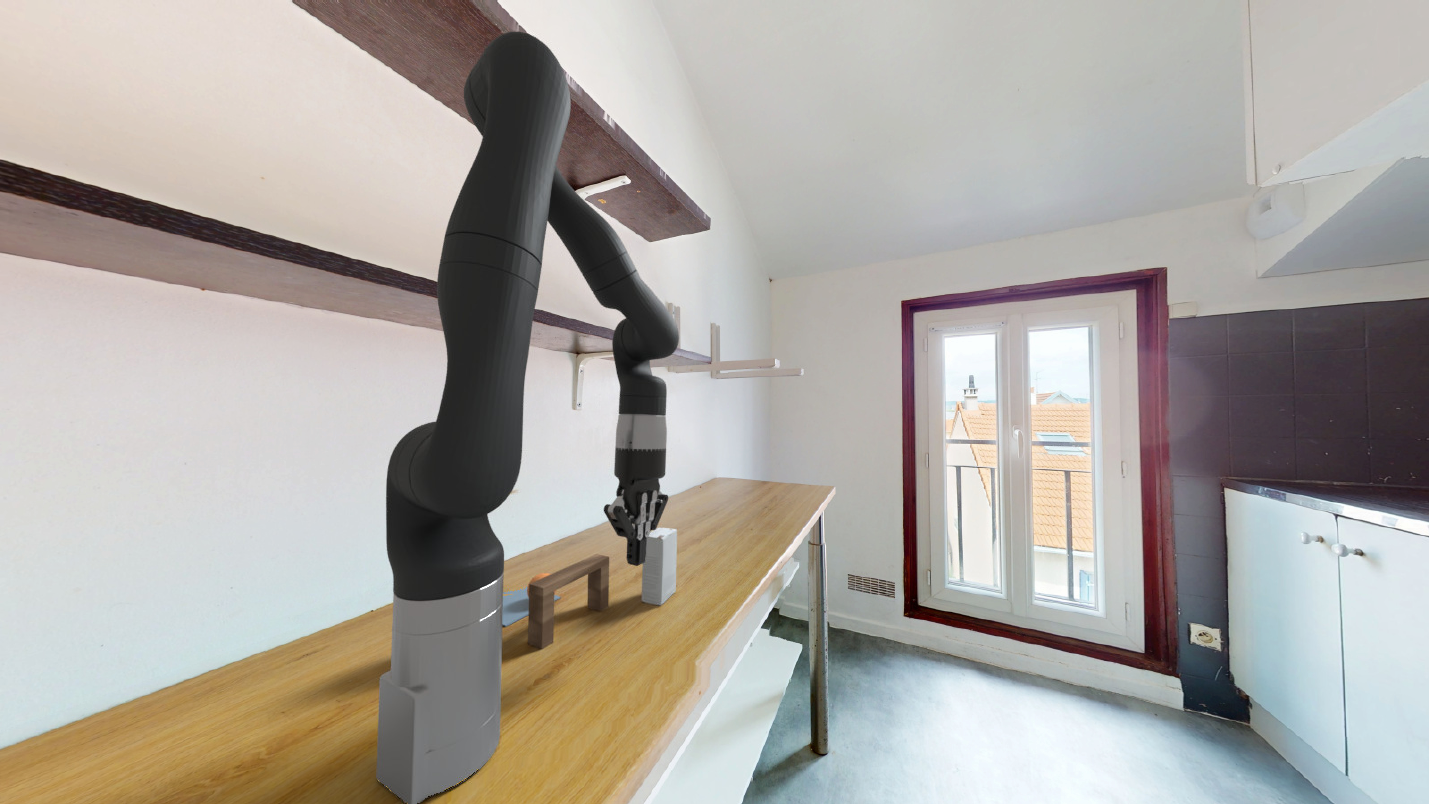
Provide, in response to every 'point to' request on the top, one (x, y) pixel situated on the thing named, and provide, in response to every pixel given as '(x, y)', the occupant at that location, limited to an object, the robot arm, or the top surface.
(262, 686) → the top surface
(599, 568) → the bridge
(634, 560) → the robot arm
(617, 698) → the top surface
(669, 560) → the skincare box
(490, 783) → the top surface
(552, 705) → the top surface
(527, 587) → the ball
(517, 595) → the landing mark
